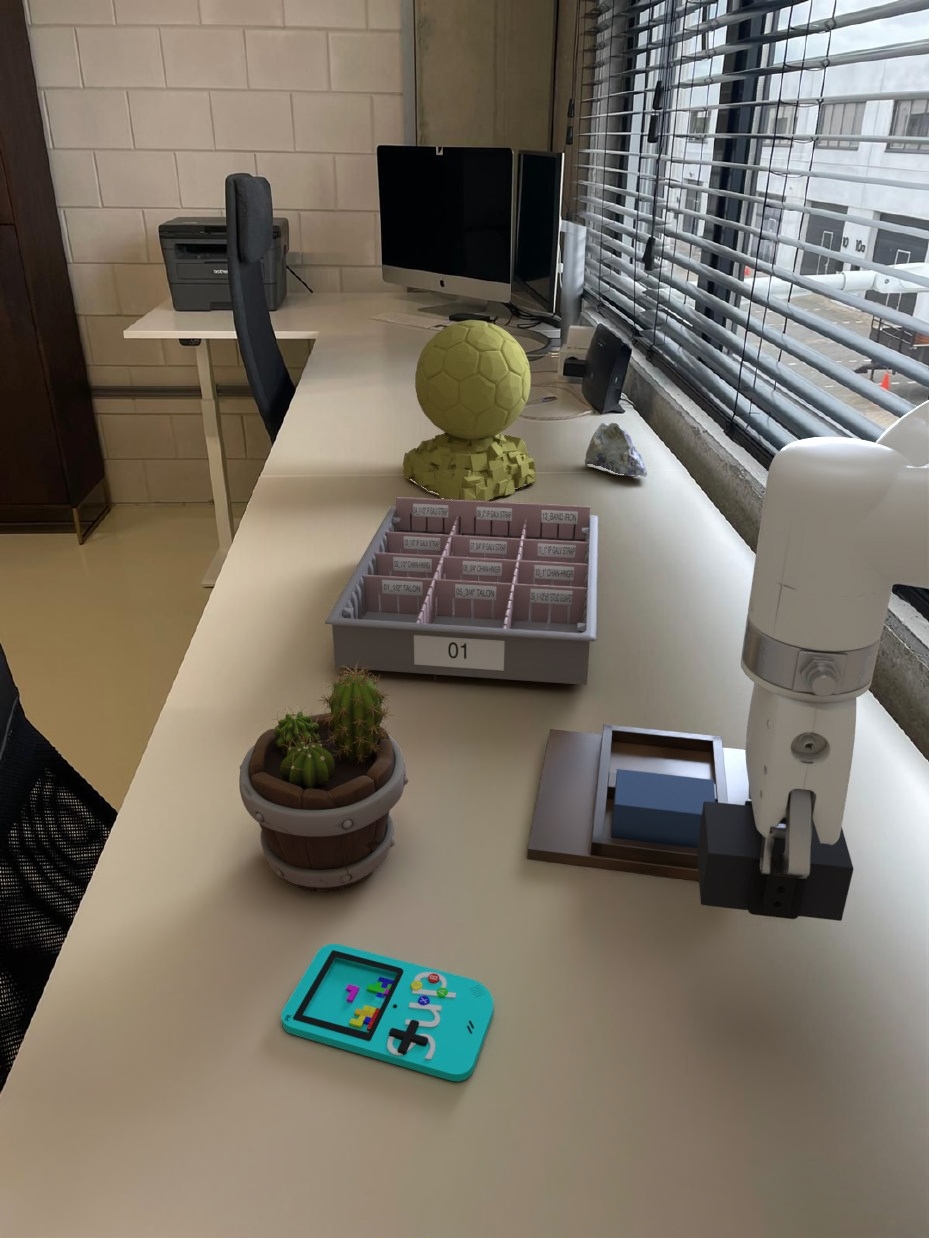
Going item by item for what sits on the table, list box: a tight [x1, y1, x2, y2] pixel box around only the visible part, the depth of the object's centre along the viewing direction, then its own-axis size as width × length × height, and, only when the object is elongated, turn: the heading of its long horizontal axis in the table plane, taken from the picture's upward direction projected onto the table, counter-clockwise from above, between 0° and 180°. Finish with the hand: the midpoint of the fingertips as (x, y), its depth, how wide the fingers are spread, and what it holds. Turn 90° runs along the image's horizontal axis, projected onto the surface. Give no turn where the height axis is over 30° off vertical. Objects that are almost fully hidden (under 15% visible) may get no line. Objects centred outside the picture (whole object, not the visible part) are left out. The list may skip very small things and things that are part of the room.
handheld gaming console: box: [281, 943, 494, 1082], centre depth 72 cm, size 8×1×15 cm
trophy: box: [402, 319, 537, 501], centre depth 174 cm, size 22×22×30 cm
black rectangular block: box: [697, 801, 854, 922], centre depth 64 cm, size 9×6×4 cm, turn 80°
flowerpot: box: [238, 659, 409, 892], centre depth 83 cm, size 14×15×20 cm
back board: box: [526, 723, 751, 882], centre depth 93 cm, size 24×20×3 cm
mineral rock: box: [584, 422, 648, 478], centre depth 183 cm, size 13×11×10 cm
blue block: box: [611, 769, 715, 848], centre depth 88 cm, size 9×6×4 cm, turn 79°
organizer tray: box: [324, 496, 599, 686], centre depth 129 cm, size 32×40×10 cm
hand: (767, 878), depth 65 cm, fingers closed on black rectangular block, 5 cm apart
